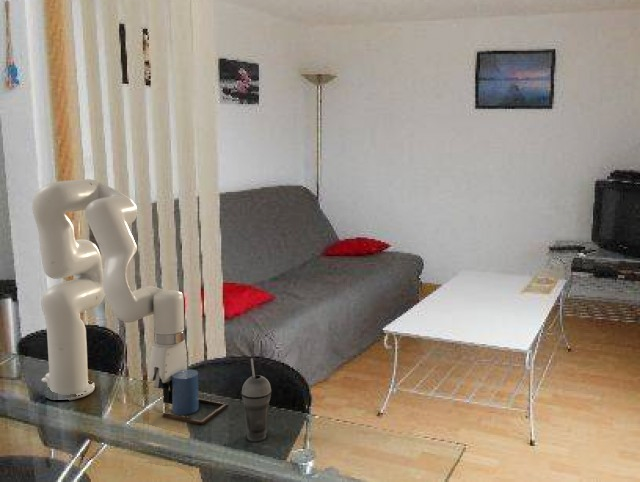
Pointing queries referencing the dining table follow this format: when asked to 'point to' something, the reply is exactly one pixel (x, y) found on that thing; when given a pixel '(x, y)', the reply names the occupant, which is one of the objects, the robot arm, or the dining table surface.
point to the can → (185, 392)
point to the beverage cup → (256, 405)
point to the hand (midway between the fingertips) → (170, 402)
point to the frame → (194, 421)
